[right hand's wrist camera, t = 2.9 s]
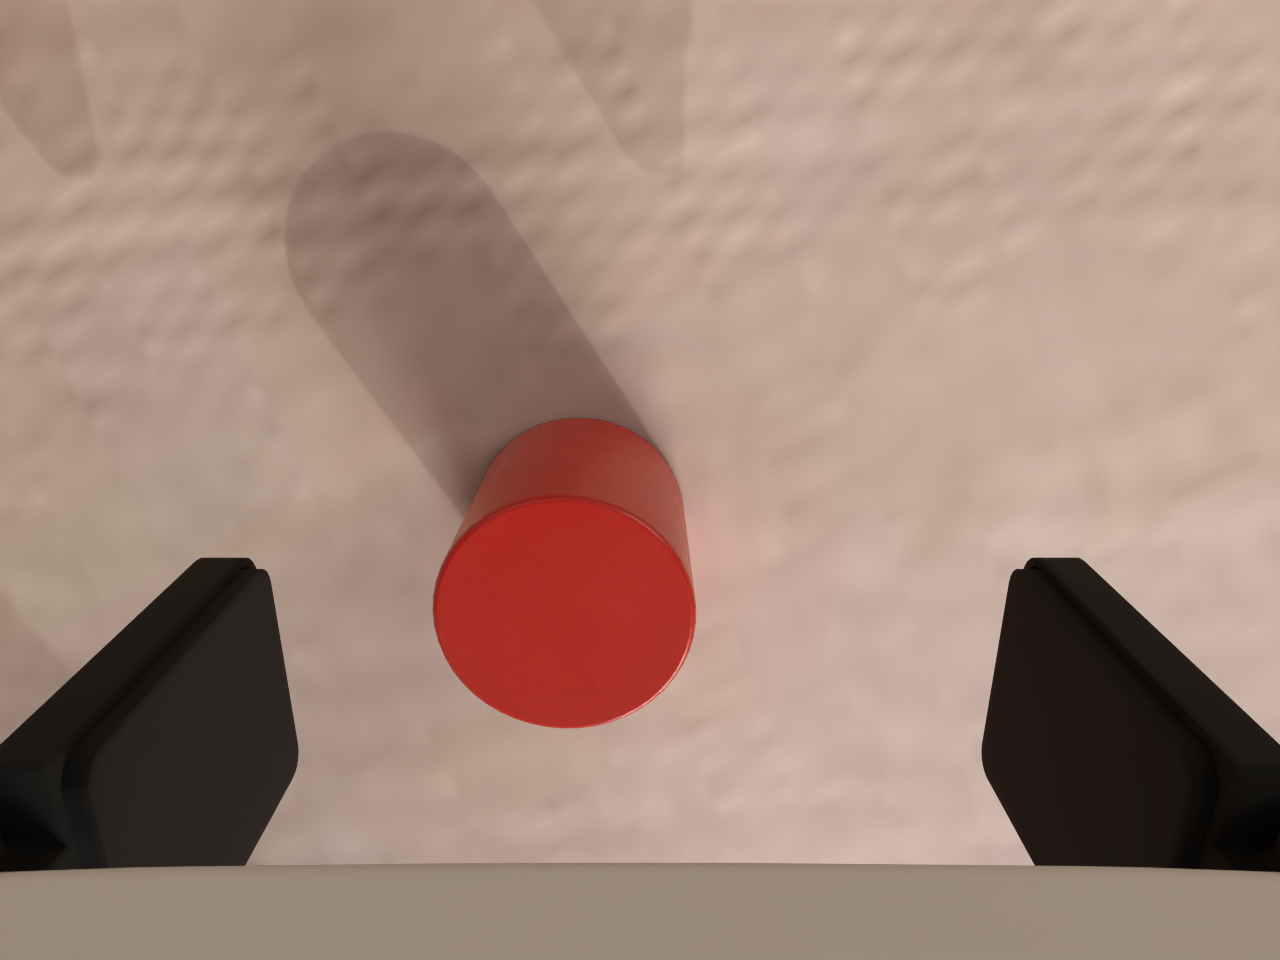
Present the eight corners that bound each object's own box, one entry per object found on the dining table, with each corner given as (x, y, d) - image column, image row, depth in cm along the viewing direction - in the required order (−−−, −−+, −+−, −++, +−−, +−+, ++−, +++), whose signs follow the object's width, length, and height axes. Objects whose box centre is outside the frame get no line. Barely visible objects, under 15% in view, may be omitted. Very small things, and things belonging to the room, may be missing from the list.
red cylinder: (624, 379, 16) (619, 450, 12) (718, 555, 17) (740, 669, 13) (439, 474, 16) (380, 568, 13) (542, 636, 18) (516, 767, 14)
